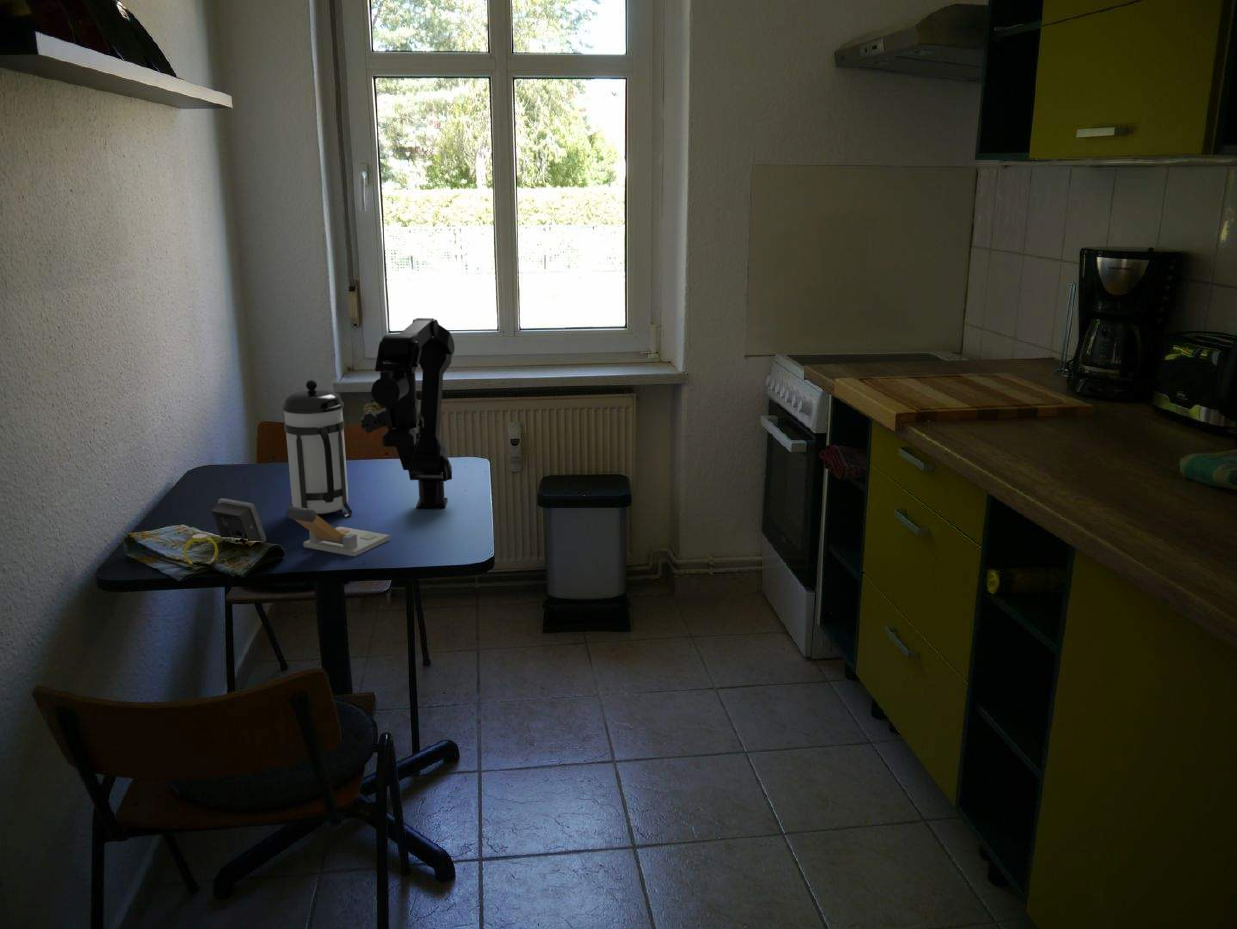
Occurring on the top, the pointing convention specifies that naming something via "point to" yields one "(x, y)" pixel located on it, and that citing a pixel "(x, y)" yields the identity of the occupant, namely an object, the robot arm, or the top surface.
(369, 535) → the switch base
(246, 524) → the electrical switch
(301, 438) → the coffee press
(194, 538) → the watch
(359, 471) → the top surface
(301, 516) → the lever
